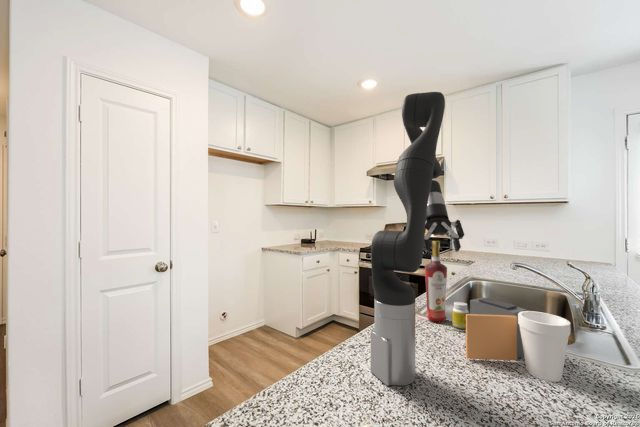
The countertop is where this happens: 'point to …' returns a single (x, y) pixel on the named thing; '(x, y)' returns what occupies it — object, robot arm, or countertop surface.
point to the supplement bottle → (460, 316)
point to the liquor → (436, 286)
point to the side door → (491, 337)
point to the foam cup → (544, 343)
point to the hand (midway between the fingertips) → (443, 251)
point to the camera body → (498, 308)
